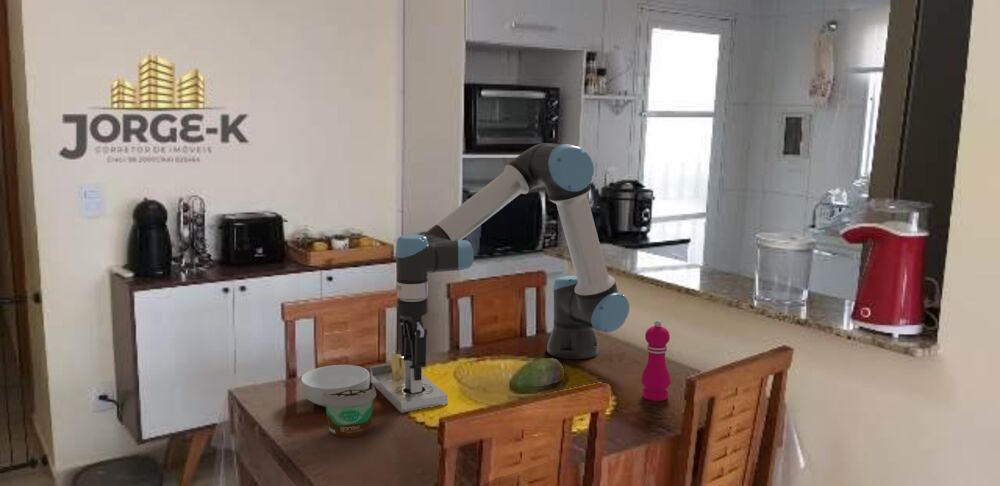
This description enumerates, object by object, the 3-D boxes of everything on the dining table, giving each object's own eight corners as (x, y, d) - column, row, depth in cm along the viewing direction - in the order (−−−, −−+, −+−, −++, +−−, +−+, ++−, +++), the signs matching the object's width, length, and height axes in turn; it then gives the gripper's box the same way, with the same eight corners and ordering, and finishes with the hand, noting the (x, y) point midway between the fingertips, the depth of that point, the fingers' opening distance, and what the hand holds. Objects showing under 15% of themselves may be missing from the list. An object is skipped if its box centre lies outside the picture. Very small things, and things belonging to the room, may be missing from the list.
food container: (328, 444, 174) (326, 400, 172) (322, 433, 179) (321, 391, 178) (383, 435, 179) (382, 392, 177) (376, 425, 184) (375, 383, 183)
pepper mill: (651, 389, 207) (654, 315, 203) (675, 396, 202) (678, 320, 198) (635, 396, 202) (637, 320, 198) (659, 404, 197) (661, 326, 193)
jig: (413, 375, 218) (412, 347, 216) (447, 404, 197) (447, 373, 195) (370, 382, 213) (369, 353, 211) (401, 412, 191) (400, 381, 190)
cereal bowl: (298, 395, 203) (297, 368, 202) (363, 387, 209) (362, 361, 208) (306, 419, 188) (305, 390, 187) (376, 410, 193) (375, 382, 192)
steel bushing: (418, 394, 203) (417, 356, 201) (424, 399, 199) (423, 361, 198) (403, 397, 201) (402, 359, 199) (409, 402, 197) (408, 363, 196)
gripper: (386, 292, 201) (388, 381, 205) (409, 307, 187) (411, 402, 191) (414, 289, 205) (415, 376, 209) (439, 303, 190) (440, 397, 194)
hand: (413, 388), depth 200 cm, fingers closed on jig, steel bushing, 3 cm apart
